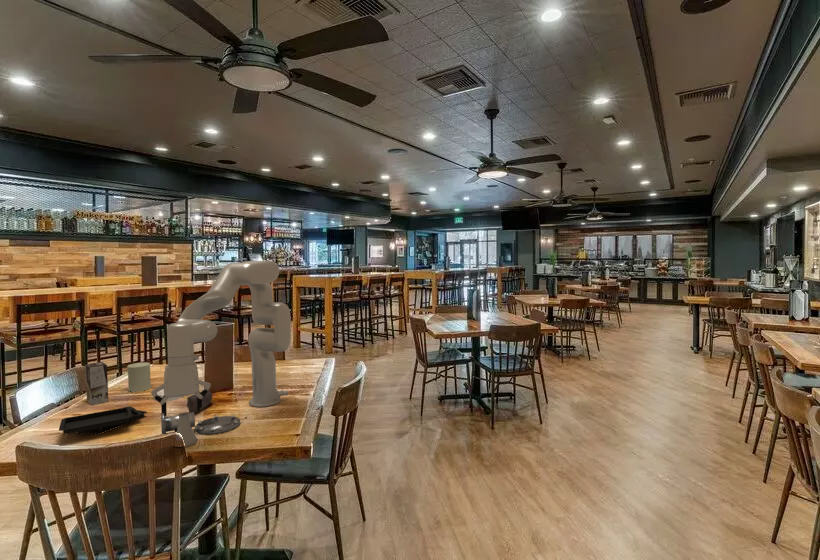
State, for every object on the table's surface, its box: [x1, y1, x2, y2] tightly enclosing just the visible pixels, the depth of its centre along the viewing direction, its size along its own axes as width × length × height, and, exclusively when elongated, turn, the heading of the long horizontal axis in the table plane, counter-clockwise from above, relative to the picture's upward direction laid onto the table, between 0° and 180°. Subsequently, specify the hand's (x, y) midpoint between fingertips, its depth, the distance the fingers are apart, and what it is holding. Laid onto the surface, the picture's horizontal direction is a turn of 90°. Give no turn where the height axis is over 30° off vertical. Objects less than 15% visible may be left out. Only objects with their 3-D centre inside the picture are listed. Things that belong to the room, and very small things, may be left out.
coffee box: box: [84, 361, 109, 406], centre depth 186 cm, size 9×6×16 cm
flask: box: [177, 411, 199, 448], centre depth 142 cm, size 7×7×10 cm
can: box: [126, 362, 152, 393], centre depth 203 cm, size 9×9×12 cm
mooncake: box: [153, 389, 184, 402], centre depth 191 cm, size 12×12×4 cm
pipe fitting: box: [160, 412, 241, 436], centre depth 154 cm, size 25×15×8 cm, turn 120°
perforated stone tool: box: [186, 390, 213, 414], centre depth 175 cm, size 15×5×7 cm, turn 171°
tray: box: [58, 406, 148, 435], centre depth 157 cm, size 30×23×5 cm
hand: (182, 412), depth 141 cm, fingers open, 9 cm apart
